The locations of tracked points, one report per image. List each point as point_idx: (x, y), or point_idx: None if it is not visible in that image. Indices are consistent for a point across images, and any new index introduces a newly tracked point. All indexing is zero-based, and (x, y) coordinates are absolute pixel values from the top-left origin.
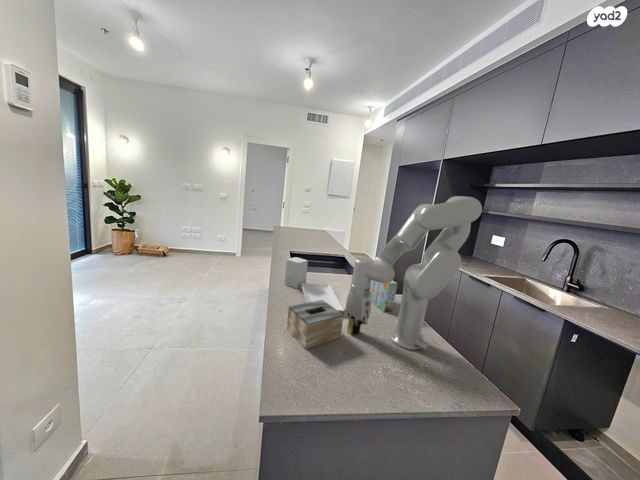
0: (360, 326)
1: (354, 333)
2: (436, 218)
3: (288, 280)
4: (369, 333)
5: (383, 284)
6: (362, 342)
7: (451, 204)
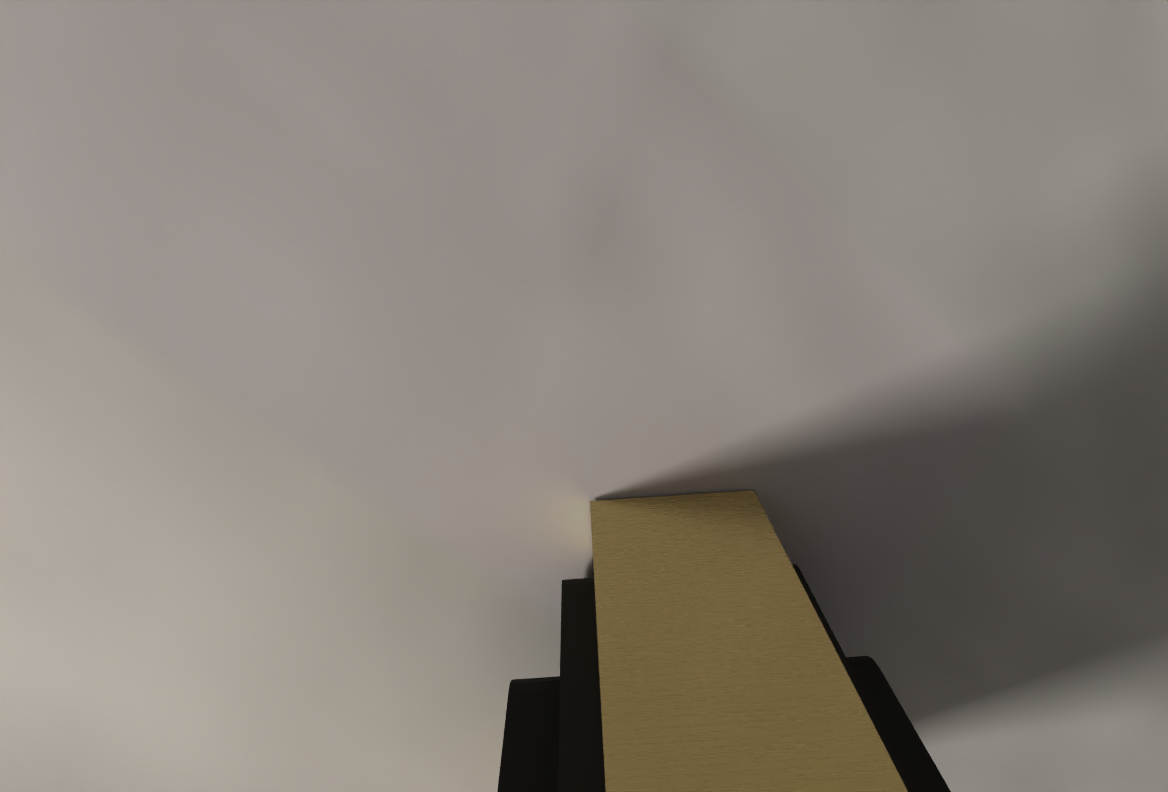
0: (811, 620)
1: None
2: None
3: None
4: (951, 234)
5: None
6: (1132, 708)
7: None
